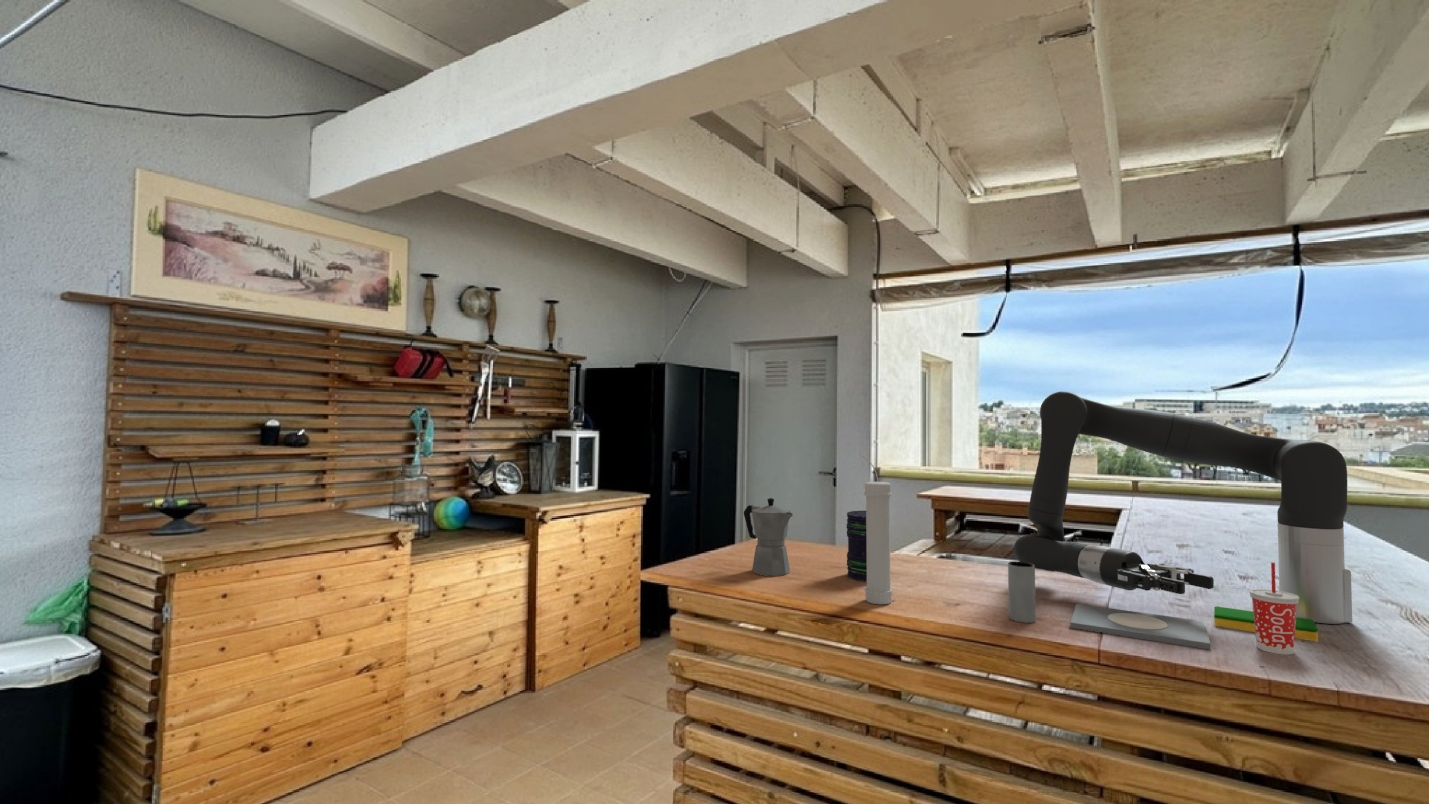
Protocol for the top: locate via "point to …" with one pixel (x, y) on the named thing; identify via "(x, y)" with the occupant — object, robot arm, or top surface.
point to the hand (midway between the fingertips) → (1198, 585)
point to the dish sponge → (1246, 622)
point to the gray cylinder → (1021, 591)
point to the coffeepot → (769, 538)
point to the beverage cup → (1274, 618)
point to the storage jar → (857, 545)
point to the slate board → (1141, 626)
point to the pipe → (878, 541)
